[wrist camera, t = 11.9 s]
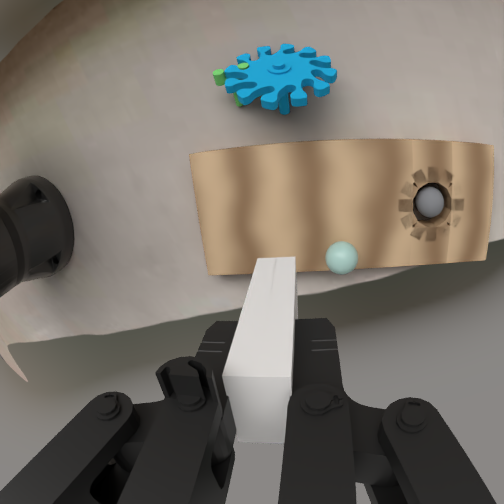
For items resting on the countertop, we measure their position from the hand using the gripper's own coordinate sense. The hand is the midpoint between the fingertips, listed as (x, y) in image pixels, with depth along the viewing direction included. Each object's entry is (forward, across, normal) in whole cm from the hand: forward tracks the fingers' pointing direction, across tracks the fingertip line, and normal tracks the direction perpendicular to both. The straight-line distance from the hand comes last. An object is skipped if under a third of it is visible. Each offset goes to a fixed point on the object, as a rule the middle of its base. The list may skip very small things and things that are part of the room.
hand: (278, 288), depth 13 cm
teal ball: (+17, +5, -6) cm, 18 cm away
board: (+21, +7, -1) cm, 22 cm away
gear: (+21, 0, +12) cm, 24 cm away
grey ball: (+19, +15, -1) cm, 24 cm away
